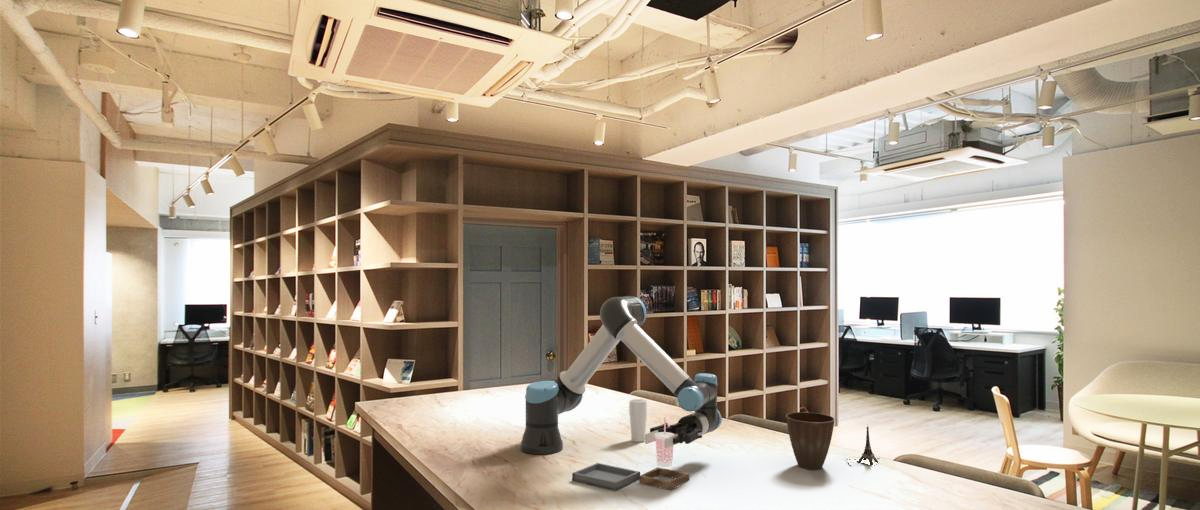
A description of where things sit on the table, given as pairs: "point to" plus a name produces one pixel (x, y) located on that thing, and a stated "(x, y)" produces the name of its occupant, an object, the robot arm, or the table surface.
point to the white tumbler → (638, 419)
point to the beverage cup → (663, 448)
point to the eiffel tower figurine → (868, 451)
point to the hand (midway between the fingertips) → (656, 441)
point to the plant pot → (810, 438)
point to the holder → (650, 480)
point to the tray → (606, 476)
